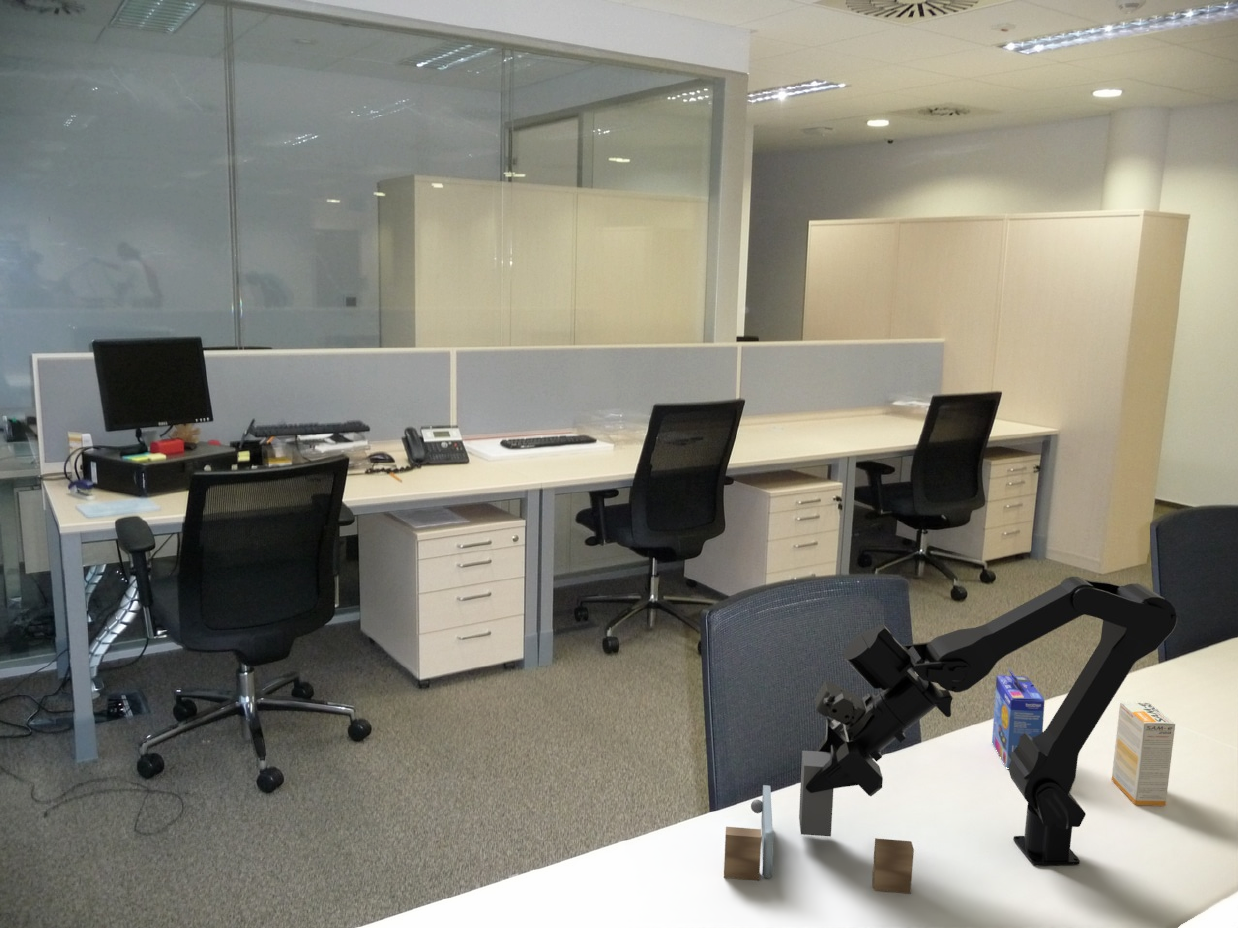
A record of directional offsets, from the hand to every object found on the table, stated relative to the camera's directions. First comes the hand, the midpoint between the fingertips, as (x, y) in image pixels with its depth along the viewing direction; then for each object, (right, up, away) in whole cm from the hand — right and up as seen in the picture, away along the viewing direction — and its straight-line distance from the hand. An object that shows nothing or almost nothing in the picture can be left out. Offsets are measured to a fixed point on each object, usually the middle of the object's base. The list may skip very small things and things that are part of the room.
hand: (806, 781), depth 141 cm
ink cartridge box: (+39, -5, +27) cm, 48 cm away
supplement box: (+53, -7, +16) cm, 56 cm away
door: (-6, -9, -2) cm, 11 cm away
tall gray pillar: (+1, -7, +1) cm, 7 cm away
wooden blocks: (0, -10, -8) cm, 13 cm away
